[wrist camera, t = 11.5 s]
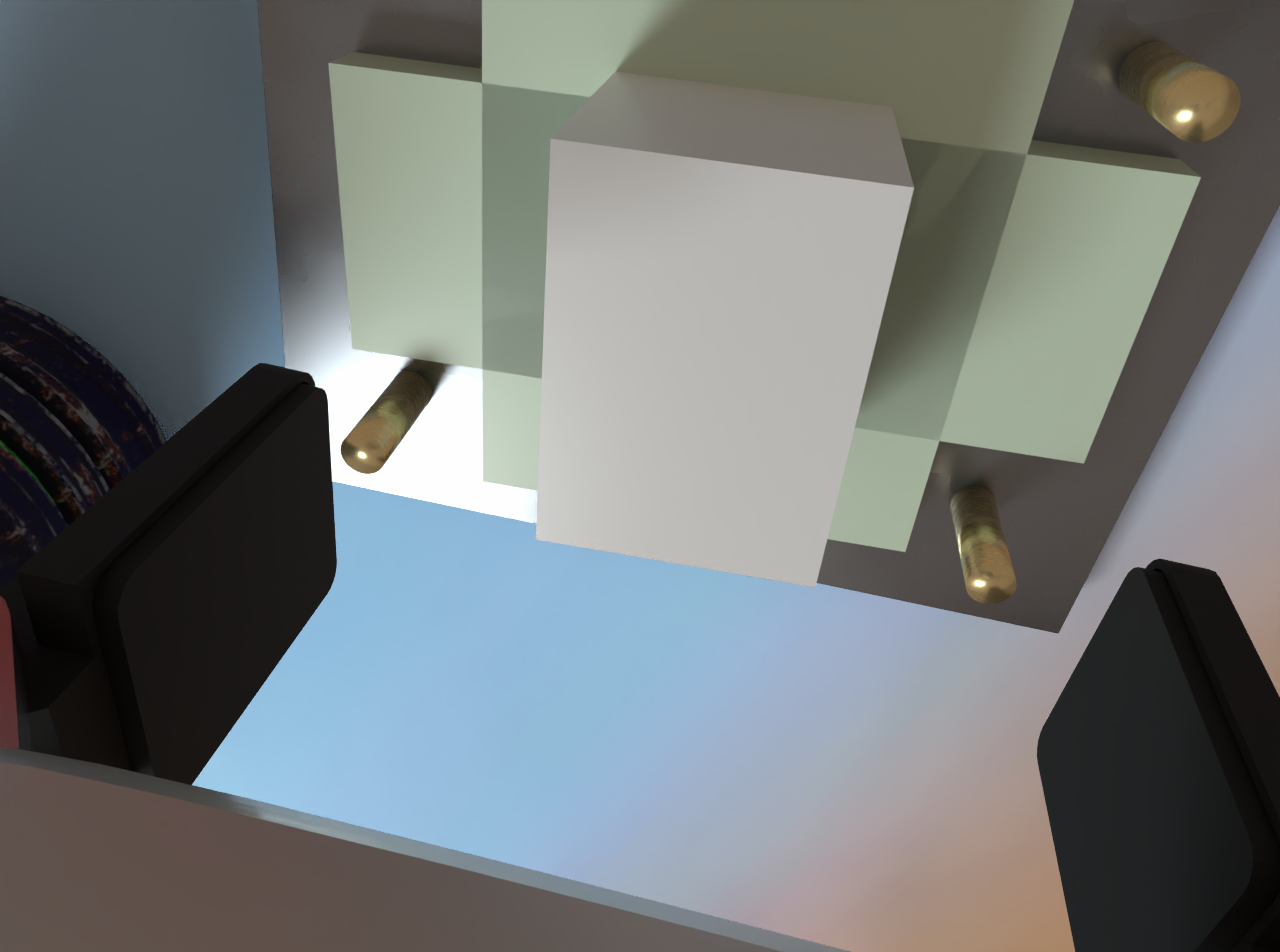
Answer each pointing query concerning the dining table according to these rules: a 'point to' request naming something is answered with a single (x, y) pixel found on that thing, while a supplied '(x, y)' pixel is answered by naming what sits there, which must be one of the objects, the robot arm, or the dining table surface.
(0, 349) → the storage jar
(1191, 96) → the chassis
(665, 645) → the dining table surface
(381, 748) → the dining table surface
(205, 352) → the dining table surface
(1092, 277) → the board
